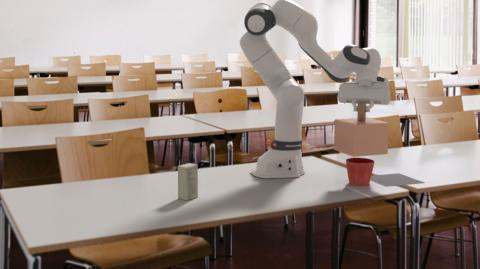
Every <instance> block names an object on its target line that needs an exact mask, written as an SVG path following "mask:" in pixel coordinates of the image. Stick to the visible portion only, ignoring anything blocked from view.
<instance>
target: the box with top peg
mask: <svg viewBox="0 0 480 269" xmlns="http://www.w3.org/2000/svg"><path fill="white" fill-rule="evenodd" d="M357 106H358V112H357V114H356V117H354V118H353V117H352V118H339V119H338V118H337V119H336V118H335V119H334V133H333V134H334V136H333V138H334V140H333V151H337V152H340V153H343V154H345V155H348V156H350V157H352V158H358V157H366V156H368V157H370V156H381V155H388V154H389V153H388V152H389V132H390V131H389V128H390V126H389V125H390V123H389V122H387V121H383V120H379V119H376V118H372V117H367V112H366V106H367V104H366V103H358V104H357Z"/></svg>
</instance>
